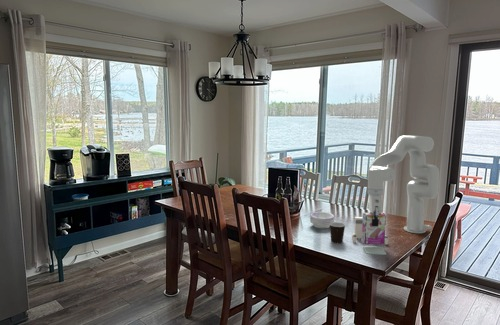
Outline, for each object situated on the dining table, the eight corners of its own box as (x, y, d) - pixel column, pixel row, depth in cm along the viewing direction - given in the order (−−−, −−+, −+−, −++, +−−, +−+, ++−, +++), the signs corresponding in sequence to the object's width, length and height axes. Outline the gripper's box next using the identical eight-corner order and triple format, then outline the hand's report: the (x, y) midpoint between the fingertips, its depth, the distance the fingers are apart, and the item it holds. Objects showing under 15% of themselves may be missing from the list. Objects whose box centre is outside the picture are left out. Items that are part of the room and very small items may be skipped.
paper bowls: (332, 231, 212) (332, 219, 211) (308, 228, 216) (308, 216, 215) (334, 224, 226) (335, 212, 225) (311, 222, 231) (312, 210, 230)
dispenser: (382, 237, 200) (383, 217, 198) (387, 244, 189) (388, 223, 187) (350, 236, 203) (350, 216, 201) (353, 242, 191) (353, 222, 190)
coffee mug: (333, 237, 200) (333, 221, 199) (347, 240, 195) (347, 224, 193) (324, 243, 191) (324, 226, 190) (338, 246, 186) (338, 229, 184)
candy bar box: (364, 244, 180) (365, 215, 178) (361, 241, 185) (362, 212, 183) (385, 244, 181) (386, 214, 179) (381, 240, 186) (382, 212, 184)
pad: (381, 247, 184) (382, 246, 184) (386, 254, 174) (386, 253, 174) (362, 247, 185) (362, 246, 185) (366, 253, 176) (366, 252, 176)
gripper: (386, 195, 171) (384, 229, 173) (378, 188, 187) (377, 219, 190) (371, 195, 172) (369, 229, 174) (364, 188, 189) (363, 219, 191)
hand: (373, 224), depth 182 cm, fingers closed on candy bar box, 5 cm apart
